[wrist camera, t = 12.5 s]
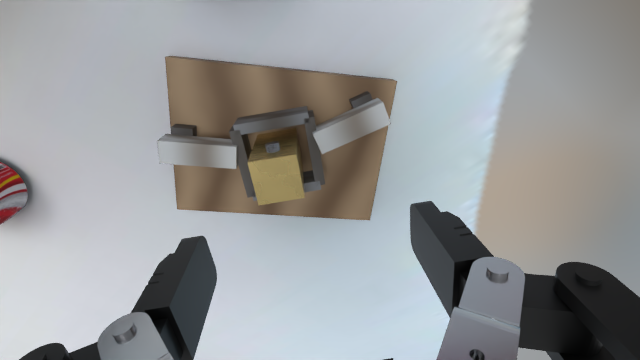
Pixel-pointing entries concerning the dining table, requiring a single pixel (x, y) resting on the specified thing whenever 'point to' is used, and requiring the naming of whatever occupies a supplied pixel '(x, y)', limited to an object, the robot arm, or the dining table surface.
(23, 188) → the soda can
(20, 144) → the dining table surface
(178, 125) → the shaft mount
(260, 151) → the tan block with knob
